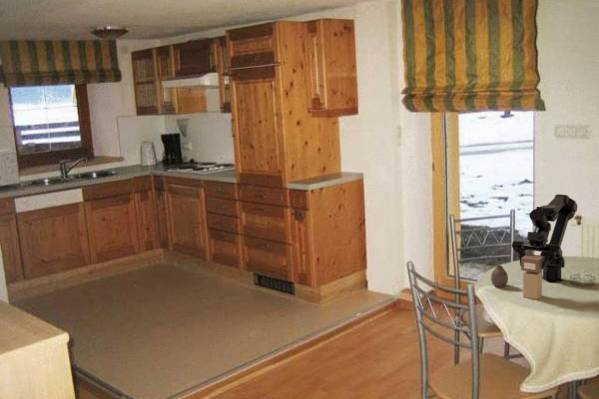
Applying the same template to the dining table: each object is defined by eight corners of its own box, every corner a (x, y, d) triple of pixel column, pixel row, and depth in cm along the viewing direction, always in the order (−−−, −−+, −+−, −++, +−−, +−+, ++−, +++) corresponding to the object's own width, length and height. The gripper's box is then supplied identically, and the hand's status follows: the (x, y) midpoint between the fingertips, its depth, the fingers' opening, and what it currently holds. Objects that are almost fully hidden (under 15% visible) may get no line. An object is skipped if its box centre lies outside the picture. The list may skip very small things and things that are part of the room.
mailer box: (528, 293, 260) (528, 269, 258) (542, 295, 256) (542, 271, 254) (523, 297, 255) (523, 272, 253) (537, 299, 252) (537, 274, 250)
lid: (527, 265, 258) (527, 253, 257) (544, 268, 254) (544, 255, 253) (521, 270, 253) (521, 258, 252) (538, 272, 249) (538, 260, 248)
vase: (508, 288, 266) (508, 268, 265) (491, 288, 268) (491, 268, 266) (507, 283, 273) (506, 263, 271) (490, 283, 274) (490, 263, 273)
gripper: (513, 221, 259) (502, 254, 253) (560, 225, 247) (551, 260, 241) (520, 235, 266) (510, 267, 260) (566, 240, 255) (557, 274, 249)
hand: (531, 267), depth 252 cm, fingers open, 8 cm apart
